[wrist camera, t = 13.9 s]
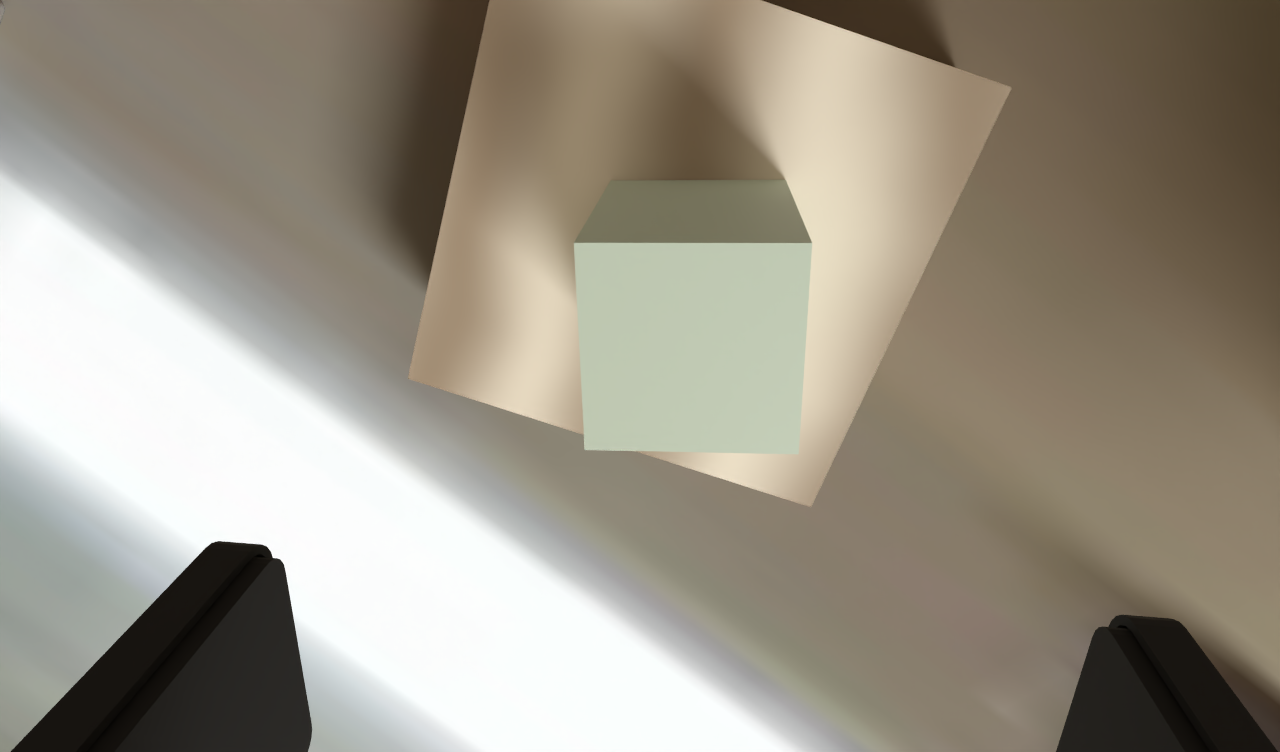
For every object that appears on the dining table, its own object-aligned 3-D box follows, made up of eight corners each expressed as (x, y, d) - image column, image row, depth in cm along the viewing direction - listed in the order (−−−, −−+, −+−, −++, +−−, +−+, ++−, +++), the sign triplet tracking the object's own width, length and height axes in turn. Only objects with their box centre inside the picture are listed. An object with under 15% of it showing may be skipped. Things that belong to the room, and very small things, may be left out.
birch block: (954, 71, 28) (1011, 87, 22) (795, 425, 34) (810, 507, 28) (550, -69, 27) (508, -88, 22) (459, 316, 33) (407, 378, 27)
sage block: (785, 179, 24) (811, 243, 17) (777, 343, 26) (798, 454, 19) (610, 180, 24) (574, 242, 18) (616, 341, 26) (584, 450, 20)
